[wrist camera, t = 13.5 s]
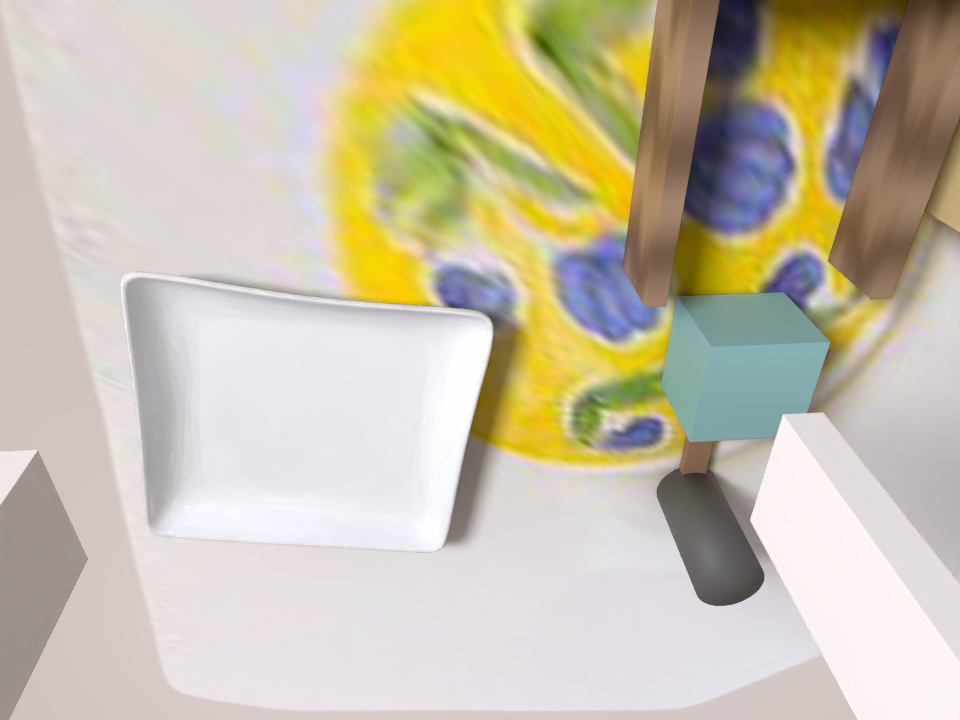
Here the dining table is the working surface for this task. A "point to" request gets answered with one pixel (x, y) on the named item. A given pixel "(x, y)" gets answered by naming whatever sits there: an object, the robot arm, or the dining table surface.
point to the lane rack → (880, 171)
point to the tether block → (730, 419)
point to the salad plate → (300, 413)
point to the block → (948, 186)
